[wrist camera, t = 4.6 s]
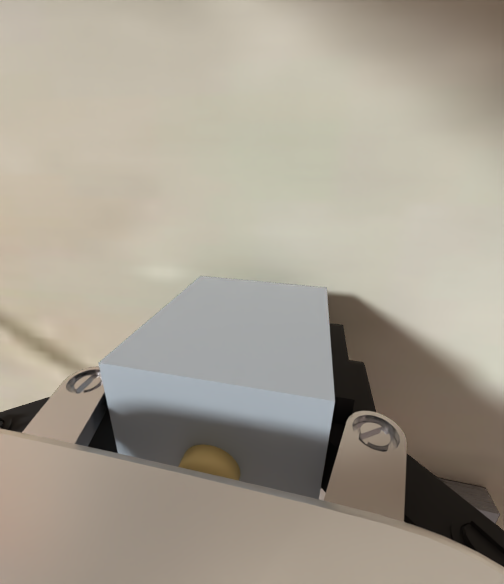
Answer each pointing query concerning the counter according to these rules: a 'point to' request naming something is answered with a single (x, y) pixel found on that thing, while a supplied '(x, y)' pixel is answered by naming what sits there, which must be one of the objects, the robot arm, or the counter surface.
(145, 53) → the counter surface
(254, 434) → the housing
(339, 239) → the counter surface
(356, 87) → the counter surface
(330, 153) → the counter surface
